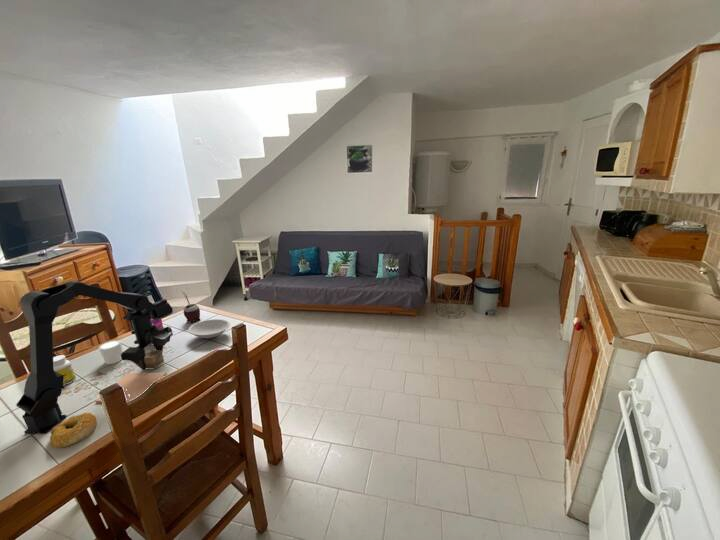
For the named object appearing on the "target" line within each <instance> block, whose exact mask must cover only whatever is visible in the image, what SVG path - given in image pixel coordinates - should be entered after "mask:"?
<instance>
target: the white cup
mask: <svg viewBox="0 0 720 540" xmlns="http://www.w3.org/2000/svg"><path fill="white" fill-rule="evenodd" d="M98 350H99V352H100V354H101V356H102V358H103V361H104V362H105V364H106V365H113V364H112V363H114V364H116V362H117V363H119V362H120V360H121V361H123V360H122V358H121V354H122V353H123V352H124V351H123V347H122V342H121V340H119V339H118V340H117V339H114V340H109V341H106V342H105V343H102V344H100V345H99V347H98Z"/></svg>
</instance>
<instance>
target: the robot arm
mask: <svg viewBox="0 0 720 540" xmlns="http://www.w3.org/2000/svg"><path fill="white" fill-rule="evenodd" d="M79 296H81V297H86V298H87V297H88V298H91V299H96V300H100V301H105V302H109V303H110V302H111V303H113V304H115V305H116V304H117V305H118V306H120V307H123V308H126V309H129V310H132V311H133V312H129V311H127V312H126V314H125V315H124V316H123V317H122V319H123V320H125V321H128V322H130V321H131V325H132V328H133V330H131V332H130V334H131V335H135V340H134V341H133V343H134V345H137V346H136V347H134V346H133V347H132V346H130V347H128V348H127V349H126V350H124V351H122V352H123V353H122V354H121V358H122V360H121V361H130V362H132V363H133V364H134V365H136V366H137V367H139V369H140V370H142V371H145V370H147V369H146V365H145V361H144V357H145V356H146V354H145V353H146V349H147V348H148V347H149V346H150V345H151V343H152V344H153V345H152V346H153V347H154V350H161V351H162V353H163V351H164V346H165V345H167V344H168V343H169V342H170V340H171V337H172V336H173V329H172V326H168V325H167V326H166V327H164V326H163V327H156V326H155V325H152V322H151V319H154V320H159V319H161V320H162V319H163V318H165V317H168V316H170V315H172V314H173V312H174V310H173V307H172V306H171V304H170V303H169V302H168V300H167V299H165V298H161V299H159V300H158V301H154V302H151V301H150V300H149V297H148V296H146V295H143V294H140V293H135V292H126V291H125V292H123V291H121V292H119V291H114V290H110V289H106V288H102V287H98V286H94V285H90V284H87V283H84V282H81V281H78V280H77V281H76V280H70V281H66V282H64V283H62V284H57V285H55V286H50V287H47V288H43V289H41V290H33V291H29V292H27V293H25V294H24V295H23V296H21V297H20V301H19V304H20V308H21V310H22V313H23V315H24V317H25V318H24V319H26V321H27V322H28V323H27V324H28V328H29V329H28V330H29V331H28V332H29V353H30V355H29V356H30V359H29V360H30V373H29V375H28V377H27V378H26V380H25V385H24V389H23V394H22V396H21V397H20V399H19V400H18V402H16V404H15V406H16V407H17V408H19V409H21V410H22V411H23V412H24V414H23V415H22V419H23V421H24V422H25V426H26V428H27V429H26V430H24V431H23V433H24V434H31V435H32V434H36V435H37V434H39V435H40V434H41V435H44V434H48V432H50V431H52V429H53V428H54V427H55V426H57V425H58V424H60V423H62V422H63V420H64V419H67V414H63V412H62V410H61V407H60V405H59V403H58V400H59V397H60V396H61V395H62V392H63V390H64V389H65V388H66V387H65V385H64V386H63V380H64V375H62V374H60V373H58V372H56V371H54V367H53V357H54V343H53V339H54V338H53V323H54V322H55V321H54V320H55V318H56V317H57V315H58V312H59V307H61V306H63V305H66V304H67V303H69V302H71V301H72V300H73V299H75V298H76V297H79Z"/></svg>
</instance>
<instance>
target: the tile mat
mask: <svg viewBox="0 0 720 540" xmlns="http://www.w3.org/2000/svg"><path fill="white" fill-rule="evenodd" d="M165 375H166V376H167V373H166V372H128V373H126V374H125V375H124V376H123V377H121V379H119V380H118V381H117V382H118V384H120V385H121V386H122V387H123V388H124V392H125V395H126V398H127V402H129V401H130V400H132V399H134V398H136V397H137V396H139V395H140V394H142V393H143V392H144V391H145V390H146V389H147V388H148V387H150V385H151V384H152V383H153V382H154V381H156V380H158V379H159V378H161V377H163V376H165ZM166 376H165V377H166ZM126 389H127V391H126ZM128 394H130V397H129V396H128ZM95 403H96V404H98V403H99V404H100V403H101V404H102V402H101V399H100V396H99V397H98V398H97V399H95Z"/></svg>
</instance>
